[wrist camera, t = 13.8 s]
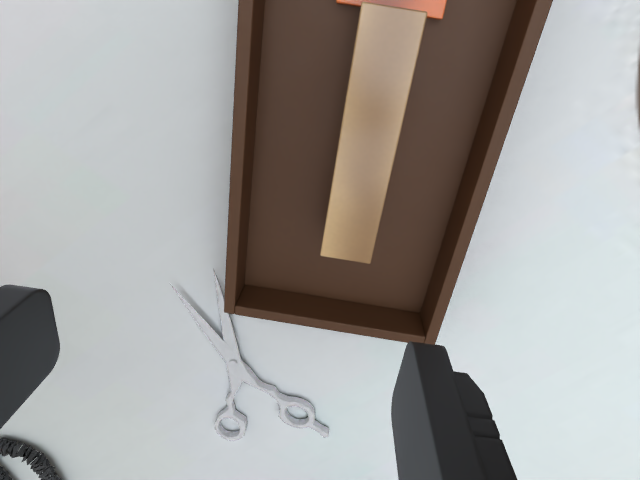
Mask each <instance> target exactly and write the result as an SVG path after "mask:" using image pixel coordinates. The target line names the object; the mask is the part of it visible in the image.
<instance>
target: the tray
mask: <svg viewBox="0 0 640 480" xmlns="http://www.w3.org/2000/svg"><path fill="white" fill-rule="evenodd" d="M552 1H553V0H447V2H446V7H445V11H444V15H443V18H442V19H440V20H437V19H431V18H426V22H425V27H424V31H423V36H422V40H421V44H420V49H419V53H418V57H417V62H416V66H415V71H414V75H413V79H412V84H411V88H410V93H409V97H408V101H407V106H406V110H405V114H404V119H403V123H402V128H401V132H400V136H399V141H398V145H397V149H396V154H395V158H394V163H393V167H392V171H391V176H390V180H389V185H388V189H387V193H386V198H385V202H384V206H383V211H382V215H381V220H380V224H379V228H378V233H377V237H376V241H375V246H374V250H373V255H372V259H371V263H370V264H368V263H362V262H356V261H349V260H343V259H337V258H331V257H325V256H321V255H320V253H321V247H322V241H323V234H324V228H325V222H326V216H327V210H328V204H329V198H330V191H331V185H332V179H333V173H334V167H335V161H336V155H337V149H338V143H339V136H340V130H341V124H342V118H343V112H344V106H345V100H346V94H347V88H348V81H349V75H350V69H351V63H352V57H353V51H354V45H355V39H356V33H357V26H358V20H359V14H360V8H361V7H356V6H349V5H343V4H338V3H337V2H336V0H239V5H238V26H237V47H236V67H235V88H234V109H233V130H232V151H231V172H230V193H229V214H228V235H227V256H226V276H225V297H224V313H230V314H234V313H235V314H236V315H242V316H248V317H254V318H260V319H267V320H273V321H279V322H285V323H291V324H297V325H303V326H309V327H315V328H321V329H327V330H334V331H340V332H346V333H352V334H358V335H364V336H370V337H376V338H382V339H388V340H395V341H401V342H407V343H409V342H410V341H412V342H419V343H426V344H433V345H435V342H436V339H437V336H438V333H439V331H440V328H441V325H442V322H443V319H444V316H445V313H446V310H447V307H448V304H449V301H450V298H451V296H452V293H453V290H454V287H455V284H456V281H457V278H458V275H459V272H460V269H461V266H462V263H463V261H464V258H465V255H466V252H467V249H468V246H469V243H470V240H471V237H472V234H473V231H474V229H475V226H476V223H477V220H478V217H479V214H480V211H481V208H482V205H483V202H484V199H485V196H486V194H487V191H488V188H489V185H490V182H491V179H492V176H493V173H494V170H495V167H496V164H497V162H498V159H499V156H500V153H501V150H502V147H503V144H504V141H505V138H506V135H507V132H508V129H509V127H510V124H511V121H512V118H513V115H514V112H515V109H516V106H517V103H518V100H519V97H520V94H521V92H522V89H523V86H524V83H525V80H526V77H527V74H528V71H529V68H530V65H531V62H532V60H533V57H534V54H535V51H536V48H537V45H538V42H539V39H540V36H541V33H542V30H543V27H544V25H545V22H546V19H547V16H548V13H549V10H550V7H551V4H552Z"/></svg>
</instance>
